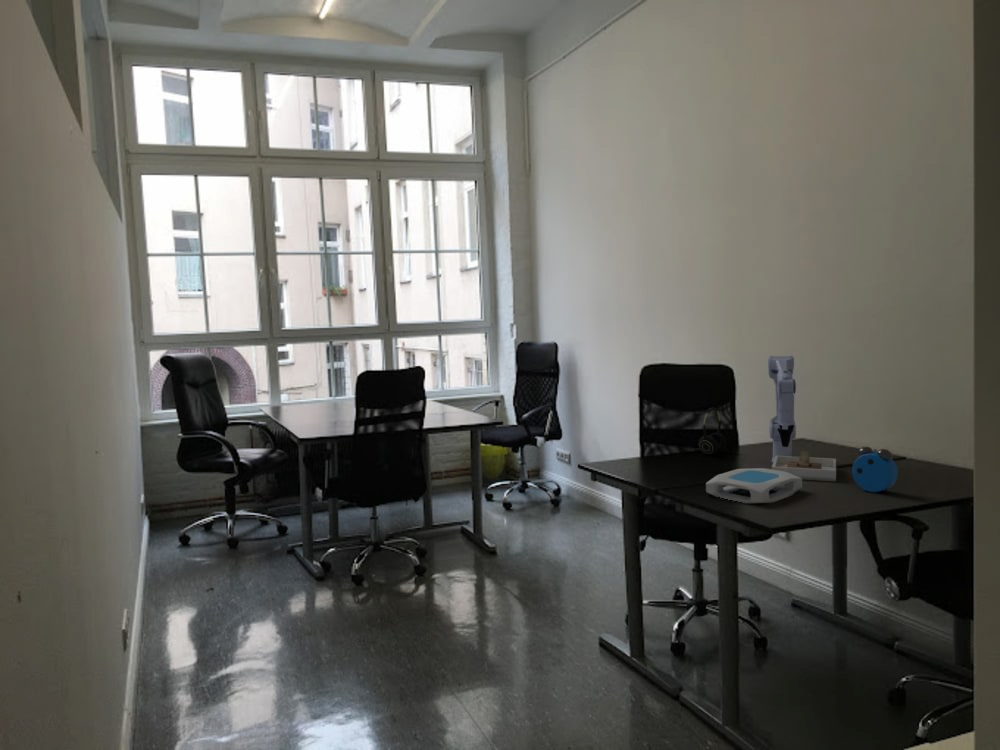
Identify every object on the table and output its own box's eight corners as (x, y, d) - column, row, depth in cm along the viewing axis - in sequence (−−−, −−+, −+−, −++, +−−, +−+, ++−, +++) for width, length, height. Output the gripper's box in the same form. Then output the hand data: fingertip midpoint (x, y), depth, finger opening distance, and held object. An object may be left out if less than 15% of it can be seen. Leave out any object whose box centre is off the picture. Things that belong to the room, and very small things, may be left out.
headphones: (694, 455, 337) (694, 408, 335) (711, 449, 348) (711, 404, 346) (713, 457, 331) (713, 410, 329) (729, 451, 342) (729, 406, 340)
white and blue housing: (803, 491, 271) (803, 473, 271) (761, 507, 253) (761, 488, 252) (748, 482, 287) (748, 465, 286) (704, 496, 268) (704, 478, 268)
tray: (775, 465, 312) (775, 455, 312) (835, 468, 304) (835, 458, 303) (771, 477, 292) (771, 466, 292) (835, 481, 284) (836, 470, 283)
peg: (799, 469, 300) (799, 451, 300) (809, 469, 299) (809, 451, 298) (798, 471, 297) (798, 452, 296) (808, 471, 296) (809, 453, 295)
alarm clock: (897, 492, 266) (899, 449, 264) (889, 496, 262) (890, 451, 260) (860, 486, 276) (861, 444, 275) (851, 489, 272) (851, 446, 271)
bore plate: (788, 466, 306) (788, 461, 306) (821, 468, 301) (821, 463, 301) (786, 472, 295) (786, 467, 295) (821, 474, 290) (821, 469, 290)
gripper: (776, 407, 312) (776, 441, 313) (774, 412, 299) (773, 447, 300) (795, 408, 309) (794, 442, 311) (793, 413, 296) (793, 448, 297)
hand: (785, 444), depth 305 cm, fingers open, 7 cm apart
